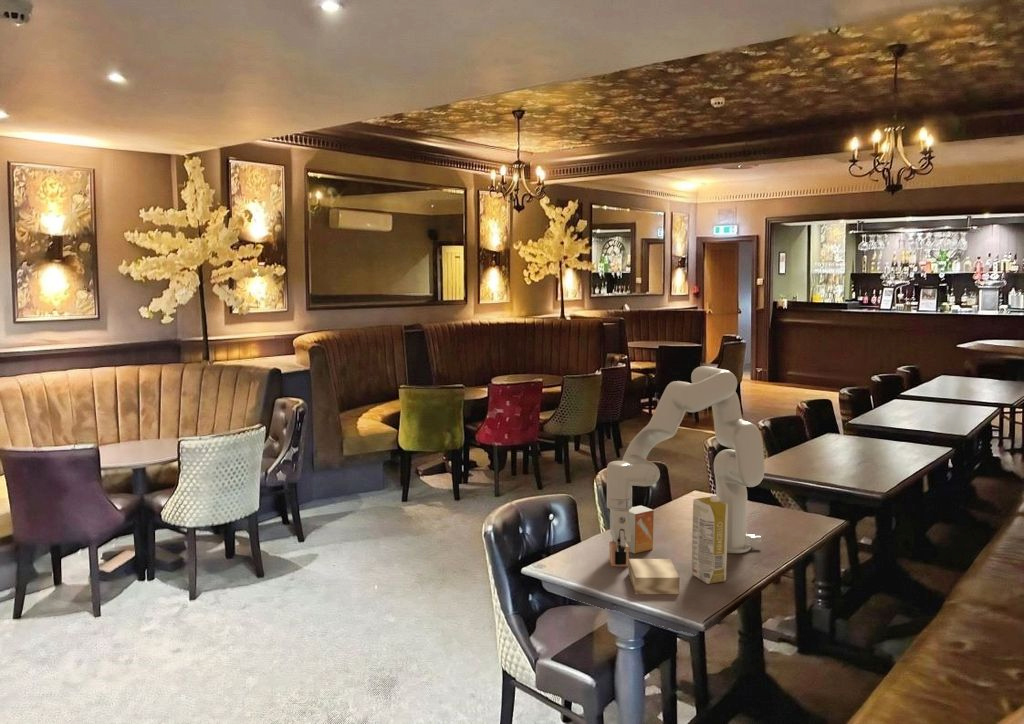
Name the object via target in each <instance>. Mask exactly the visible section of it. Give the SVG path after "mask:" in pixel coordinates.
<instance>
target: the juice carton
mask: <svg viewBox="0 0 1024 724" xmlns="http://www.w3.org/2000/svg"><path fill="white" fill-rule="evenodd" d="M719 498H720V497H718V496H716V495H710V496H707V497H706V496H705V497H699V498H693V500H692V501H693V502H692V505H693V506H692V534H691V537H692V539H691V541H692V543H691V546H692V547H691V573H692V576H693V577H696V578H697V579H699V580H701V581H702V582H703V583H705V584H707V585H710V584H715V583H723V582H725V581H726V580H727V563H728V562H727V561H728V557H727V556H728V553H727V520H728V504H727V503H723V502H720V501H719Z"/></svg>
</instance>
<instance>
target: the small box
mask: <svg viewBox="0 0 1024 724" xmlns="http://www.w3.org/2000/svg"><path fill="white" fill-rule="evenodd" d="M654 512H655V511H654V509H652V508H649V507H647V506H643V505H642V504H641V505H637V506H632V508H631V509H629V513H630V533H631V541H630V542H627V540H626V538H625V541H626V543H627V545H628V546H629V553H632V554H636V555H637V554H638V553H639V554H640V553H642V552H646V551H650V550H651V549H652V550H653V549H654V520H655V519H654V514H655V513H654Z"/></svg>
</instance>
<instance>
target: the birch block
mask: <svg viewBox="0 0 1024 724" xmlns="http://www.w3.org/2000/svg"><path fill="white" fill-rule="evenodd" d="M629 576H630V577H629ZM628 577H629V579H631V580H630V583H631V585H632V588H633V590H634V594H635V593H639V594H638V595H680V586H681V585H680V579H681V578H680V576H679V573H678V572H677V569H676V567H675V566H674V563H673V562H672V560H671V558H629V566H628Z"/></svg>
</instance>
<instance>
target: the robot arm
mask: <svg viewBox="0 0 1024 724" xmlns="http://www.w3.org/2000/svg"><path fill="white" fill-rule="evenodd" d="M690 380H691V383H690V382H688V381H681V380H677V381H676V380H675V381H674V380H673V381H671V382H669V384H667V386H666V387H665V389H664V390H663V393H662V395H661V396H660V399H659V400H658V403H657V406H656V407H655V409H654V412H653V413H652V417H651V419H650V421H649V422H648V423H647V425H645V427H643V428H641V430H640V431H639V432H638V433H637V434H636V435H635V436H634V437H632V440H631V441H630V442H629V444H628V446H627V448H626V451H625V452H624V455H623V458H622V460H613V461H610V462H608V463H607V467H606V508H607V509H609V531H610V532H609V533H610V535H611V537H612V540H611V542H613V541H615V542H616V551H615V564H616V565H625V564H626V541H625V538H626V540H627V542H630V541H631V533H630V513H629V509H631V508H632V507H633V486H634V487H635V486H637V487H650V486H654V485H655V484H656V483H657V482H658V481H659V479H660V477H661V473H660V469H659V467H658V466H657V465H656V464H655V463H654V462H652V461H649V460H647V458H648V456H649V454H650V451H652V449H653V448H654V447H655V446H656V445H658V444H659V443H662V442H663V441H666V440H669V439H671V438H674V436H675V435H676V433H677V431H678V429H679V427H680V424H681V423H682V421H683V418H684V417H685V414H686V412H688V413H696V412H697V413H698V412H701V411H703V410H706V409H708V408H710V407H711V409H712V416H713V417H712V418H713V427H714V435H715V436H714V437H715V440H716V442H717V443H718V444H720V445H721V446H723V447H726V449H723V450H721V451H719V452H718V453H717V454H716V456H715V457H714V460H713V472H714V478H715V490H716V491H715V493H716V494H715V496H718V497H720V498H719V501H720V502H723V503H727V504H728V520H727V554H743V553H744V554H745V553H748V552H749V551H751V549H752V545H751V544H752V543H762V540H763V539H762V537H761V535H755V534H748V533H747V514H748V513H747V511H748V506H747V505H748V489H747V487H748V488H754V487H756V486H758V485H759V484H761V482H762V480H763V479H764V476H765V470H766V469H765V467H766V466H765V464H766V463H765V456H764V443H763V442H764V441H763V436H762V433H761V431H760V429H759V427H758V426H757V425H756V424H754V423H752V422H750V421H746V420H744V419H743V417H742V416H743V415H742V410H741V403H740V399H739V395H738V393H737V392H736V390H737V387H738V379H737V377H736V376H735V374H734V373H733V372H731V371H730V370H727V369H722V368H717V367H712V366H708V365H705V366H703V365H701V366H698V367H695V368H694V369H693V370H692V372H691V376H690ZM727 448H728V449H727ZM618 544H620V545H619V546H618Z"/></svg>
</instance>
